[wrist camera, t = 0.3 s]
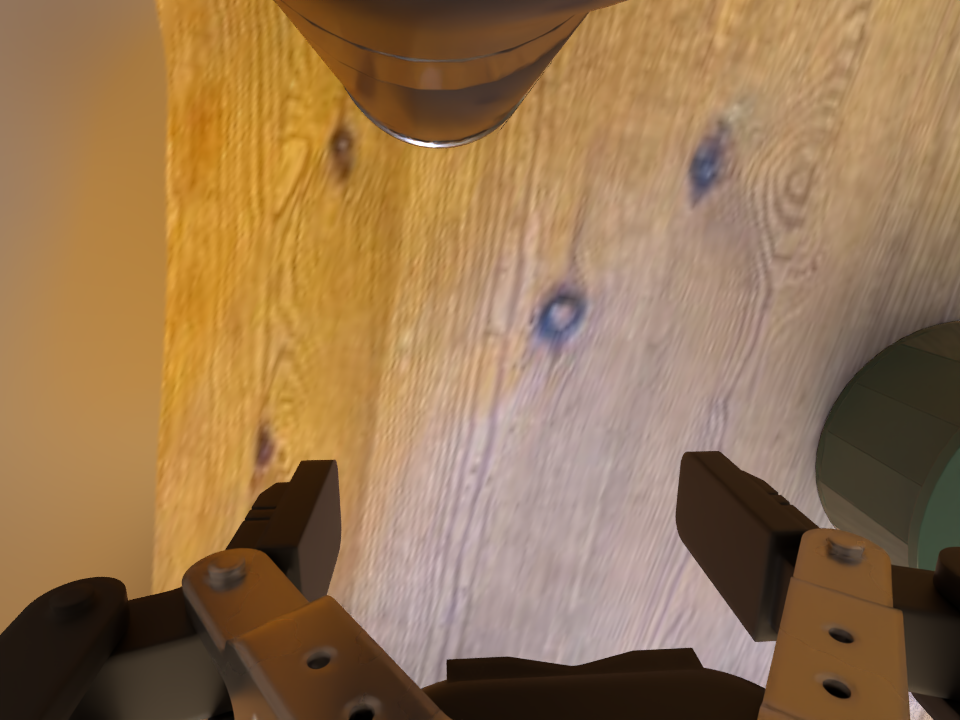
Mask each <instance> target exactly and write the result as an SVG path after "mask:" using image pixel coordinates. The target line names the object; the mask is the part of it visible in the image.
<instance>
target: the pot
mask: <svg viewBox="0 0 960 720" xmlns="http://www.w3.org/2000/svg"><path fill="white" fill-rule="evenodd" d="M959 428H960V321H952V322H947V323H943V324H938V325H934V326H931V327H928V328H925V329H922V330H919V331H917V332H915V333H913V334H911V335H909V336H907V337H904V338H902V339H900V340H899V341H897V342H896V343H894V344H892V345H891V346H889V347H888V348H886V349H885V350H883V351H882V352H881V353H879V354H878V355H877V356H876V357H874V358H873V359H872V360H870V361H869V362H868V363H867V364H866V365H865V366H864V367H863V368H862V369H861V370H860V371H859V372H858V373H857V374H856V375H855V376H854V378H853V379H852V380H851V381H850V382H849V384H848V385H847V386H846V387H845V389H844V390H843V392H842V393H841V395H840V396H839V398H838V399H837V401H836V402H835V404H834V406H833V408H832V410H831V412H830V414H829V416H828V418H827V420H826V423H825V425H824V428H823V431H822V433H821V437H820V441H819V446H818V450H817V458H816V483H817V488H818V493H819V497H820V500H821V503H822V506H823V508H824V511H825V513H826V514H827V516H828V518H829V520H830V522H831V523H832V524H833V526H834V527H835V528H836V529H837V530H842V531H846V532H849V533H853V534H856V535H859V536H861V537H863V538H866V539H868V540H870V541H872V542H874V543H875V544H877V545H878V546H880V547H881V548H882V549H883V550H885V551H886V553H887V554H888V555H889V557H890V560H891V564H892V565H897V566H904V567H909V566H908V535H909V528H910V522H911V517H912V514H913V510H914V507H915V503H916V500H917V497H918V495H919V492H920V490H921V488H922V485H923V483H924V481H925V478H926V476H927V474H928V473H929V471H930V469H931V467H932V466H933V464H934V462H935V460H936V459H937V457H938V455H939V454H940V452H941V451H942V450H943V448H944V447H945V446H946V444H947V443H948V441H949V440H950V439H951V437H952V436H953V435H954V434H955V432H956V431H957V430H958V429H959Z"/></svg>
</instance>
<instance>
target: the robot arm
mask: <svg viewBox="0 0 960 720" xmlns="http://www.w3.org/2000/svg"><path fill="white" fill-rule="evenodd" d="M274 1H275V3H276V4H277V5H278V6H279V7H280V8H281V9H282V11H283V12H284V13H285V14H286V16H287V17H288V18H289V19H290V21H291V22H292V23H293V24H294V25H295V27H296V28H297V29H298V30H299V32H300V33H301V34H302V35H303V36H304V38H305V39H306V40H307V41H308V43H309V44H310V45H311V46H312V47H313V49H314V50H315V51H316V52H317V54H318V55H319V56H320V57H321V59H322V60H323V61H324V62H325V63H326V65H327V66H328V67H329V68H330V70H331V71H332V72H333V73H334V74H335V76H336V77H337V78H338V79H339V81H340V82H341V83H342V84H343V86H344V87H345V89H346V91H347V92H348V94H349V95H350V97H351V99H352V100H353V101H354V103H355V104H356V105H357V107H358V108H359V109H360V110H361V111H362V112H363V113H364V115H365V116H366V117H367V118H368V119H369V120H371V121H372V122H373V123H374V124H375V125H376V126H378V127H379V128H380V129H382V130H383V131H385V132H386V133H388V134H389V135H391V136H393V137H395V138H397V139H399V140H401V141H404V142H406V143H409V144H413V145H416V146H421V147H427V148H451V147H458V146H462V145H466V144H469V143H471V142H474V141H477V140H479V139H481V138H483V137H485V136H486V135H488V134H490V133H491V132H493V131H494V130H495V129H497V128H498V127H499V126H500V125H502V124H503V123H504V122H505V121H506V120H507V119H508V118H510V117H511V114H513V113H514V111H515V110H516V109H517V107H518V106H519V105H520V103H521V102H522V101H523V99H524V97H526V96H527V95H526V93H527V92H528V90H529V89H530V87H531V86H532V85H533V84H534V82H535V81H536V80H537V79H538V77H539V76H540V75H541V73H542V72H543V71H544V70H545V68H546V67H547V66H548V64H549V63H550V62H551V61H552V59H553V58H554V57H555V55H556V54H557V53H558V52H559V50H560V49H561V48H562V46H563V45H564V44H565V43H566V41H567V40H568V39H569V37H570V36H571V35H572V34H573V32H574V31H575V30H576V28H577V27H578V26H579V25H580V23H581V22H582V21H583V20H584V18H585V17H586V16H587V14H588V13H589V12H590V11H593V10H597V9H601V8H605V7H608V6H611V5H615V4H618V3H621V2H624V1H627V0H274ZM551 63H552V62H551ZM551 63H550V64H551ZM547 68H548V67H547ZM544 72H545V71H544ZM544 72H543V73H544ZM541 76H542V75H541ZM541 76H540V77H541ZM538 80H539V79H538ZM538 80H537V81H538ZM535 84H536V83H535ZM535 84H534V85H535ZM532 88H533V87H532ZM532 88H531V89H532ZM529 92H530V91H529ZM529 92H528V93H529ZM525 95H526V96H525ZM507 121H508V120H507ZM507 121H506V122H507ZM504 125H505V124H504ZM504 125H503V126H504ZM501 129H502V128H501ZM501 129H500V130H501ZM676 525H677V530H678V533H679V536H680V538H681V540H682V542H683V543H684V544H685V546H686V547H687V549H688V550H689V551H690V553H691V554H692V556H693V557H694V558H695V560H696V561H697V562H698V564H699V565H700V567H701V568H702V569H703V571H704V572H705V573H706V575H707V576H708V578H709V579H710V580H711V582H712V583H713V585H714V586H715V587H716V589H717V590H718V591H719V593H720V594H721V596H722V597H723V598H724V600H725V601H726V602H727V604H728V605H729V607H730V608H731V609H732V611H733V612H734V613H735V615H736V616H737V618H738V619H739V620H740V622H741V623H742V625H743V626H744V627H745V629H746V630H747V631H748V633H749V634H750V636H751V637H752V638H753V640H754V641H755V642H763V641H776V645H775V650H774V654H773V659H772V663H771V667H770V672H769V676H768V681H767V685H766V689H765V688H763V687H761V686H759V685H757V684H755V683H752V682H750V681H748V680H745V679H743V678H740V677H737V676H734V675H731V674H728V673H725V672H721V671H717V670H713V669H708V668H703V666H702V664H701V662H700V661H699V659H698V657H697V655H696V654H695V652H694V650H693V648H678V649H657V650H637V651H630V652H626V653H623V654H619V655H615V656H612V657H608V658H605V659H601V660H597V661H594V662H590V663H586V664H583V665H578V666H568V665H561V664H554V663H547V662H541V661H534V660H527V659H521V658H514V657H490V658H469V659H449V660H447V680H444V681H441V682H437V683H435V684H432V685H429V686H427V687H424V688H422V689H420V688H419V687H418V686H417V685H416V683H415V682H414V681H413V680H412V679H411V678H410V677H409V676H408V675H407V674H406V673H405V672H404V671H403V670H402V669H401V668H400V667H399V666H398V665H397V664H396V663H395V662H394V661H393V660H392V658H391V657H390V656H389V655H388V654H387V653H386V652H385V651H384V650H383V649H382V648H381V647H380V646H379V645H378V644H377V643H376V642H375V641H374V640H373V639H372V638H371V637H370V636H369V635H368V633H367V632H366V631H365V630H364V629H363V628H362V627H361V626H360V625H359V624H358V623H357V622H356V621H355V620H354V619H353V618H352V617H351V616H350V615H349V614H348V613H347V612H346V611H345V610H344V608H343V607H342V606H341V605H340V604H339V603H338V602H337V601H336V600H335V599H334V598H332V597H331V596H328V595H327V592H328V588H329V585H330V581H331V578H332V574H333V571H334V567H335V564H336V561H337V557H338V554H339V550H340V543H341V512H340V496H339V480H338V468H337V463H336V460H305V461H301V462H300V464H299V466H298V468H297V470H296V471H295V473H294V475H293V477H292V479H291V481H290V482H283V483H275V484H274V485H272V486H271V487H270V488H268V489H267V490H265V491H264V492H262V493H261V494H260V495H259V496H258V498H257V500H256V501H255V503H254V505H253V506H252V510H250V511H249V513H248V514H247V516H246V517H245V521H243V522H242V524H241V525H240V527H239V529H238V530H237V532H236V534H235V535H234V537H233V538H232V540H231V542H230V543H229V545H228V546H227V548H226V550H224V551H220V552H217V553H214V554H212V555H209V556H207V557H205V558H203V559H201V560H200V561H198V562H196V563H195V564H194V565H192V566H191V567H190V568H189V569H188V570H187V571H186V573H185V574H184V576H183V579H182V587H180V588H177V589H174V590H171V591H167V592H163V593H159V594H155V595H150V596H146V597H141V598H137V599H133V600H129V601H128V598H127V592H126V587H125V585H124V584H123V583H122V582H121V581H120V580H117V579H115V578H110V577H93V578H86V579H81V580H77V581H73V582H70V583H67V584H64V585H62V586H59V587H57V588H55V589H53V590H51V591H49V592H47V593H45V594H43V595H42V596H40V597H38V598H37V599H36V600H34V601H33V602H32V603H30V604H29V605H28V606H27V607H26V608H25V609H24V610H23V611H22V612H21V614H20V615H18V617H17V618H16V619H15V620H14V621H13V622H12V623H11V624H10V625H9V626H8V627H7V628H6V630H5V631H3V633H2V634H1V635H0V720H910V709H909V695H908V691H909V692H911V693H912V695H913V696H914V698H915V699H916V700H917V702H918V703H919V704H920V705H921V706H922V707H923V708H924V709H925V710H926V712H927V713H928V714H929V715H930V716H931V717H932V718H933V719H934V720H960V547H948V548H945V549H942V550H941V551H940V552H939V555H938V560H937V564H936V568H935V571H931V570H925V569H918V568H911V567H904V566H897V565H892V564H891V560H890V557H889V555H888V554H887V553H886V551H885V550H883V549H882V548H881V547H880V546H878V545H877V544H875V543H874V542H872V541H870V540H868V539H866V538H863V537H861V536H859V535H856V534H853V533H849V532H846V531H842V530H836V529H827V528H819V527H818V526H817V525H816V524H815V523H813V522H812V521H811V520H810V519H809V518H807V517H806V516H805V515H804V514H803V513H802V512H800V511H799V510H798V509H797V508H796V507H794V506H793V505H790V502H789V501H787V500H786V499H785V498H784V497H783V496H781V495H778V492H777V491H776V490H774V489H773V488H772V487H771V486H770V485H768V484H767V483H766V482H765V481H763V480H761V479H759V478H757V477H755V476H753V475H751V474H749V473H747V472H745V471H742V470H740V469H739V468H738V467H737V466H736V465H735V464H734V463H732V462H731V461H730V460H729V459H728V458H727V457H726V456H724V455H723V454H722V453H721V452H719V451H700V452H686V453H684V455H683V457H682V460H681V466H680V476H679V485H678V495H677V505H676Z"/></svg>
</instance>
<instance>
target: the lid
mask: <svg viewBox="0 0 960 720" xmlns="http://www.w3.org/2000/svg"><path fill="white" fill-rule="evenodd" d="M948 547H960V428H959V429H958V430H957V431H956V432H955V434H954V435H953V436H952V437H951V439H950V440H949V441H948V443H947V444H946V446H945V447H944V448H943V450H942V451H941V452H940V454H939V455H938V457H937V459H936V460H935V462H934V464H933V466H932V467H931V469H930V471H929V473H928V474H927V476H926V478H925V481H924V483H923V485H922V488H921V490H920V492H919V495H918V497H917V500H916V503H915V507H914V510H913V514H912V517H911V522H910V528H909V535H908V566H909V567H911V568H918V569H925V570H931V571H935V568H936V564H937V560H938V555H939V552H940V551H941V550H942V549H945V548H948Z"/></svg>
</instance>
